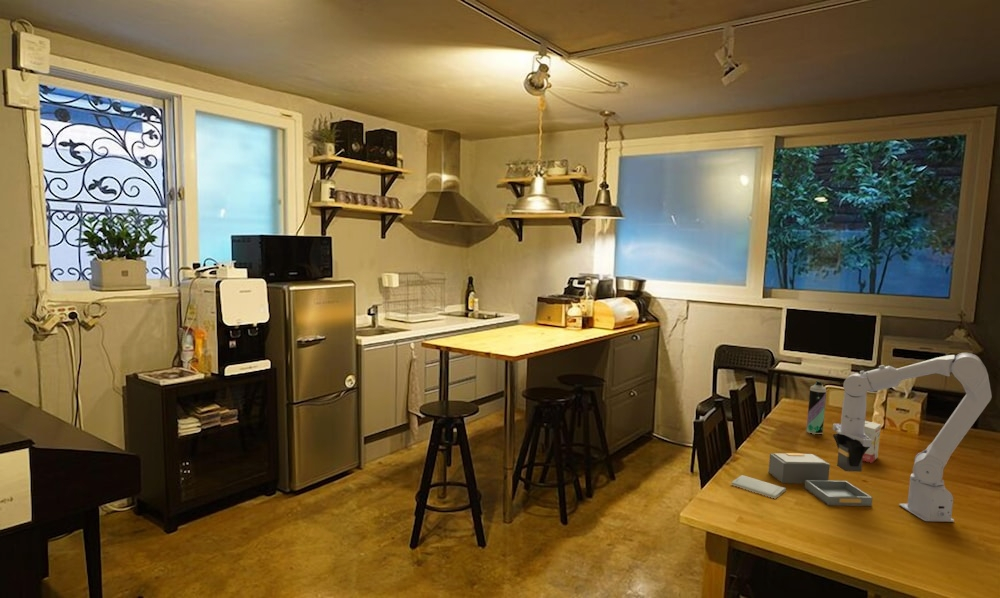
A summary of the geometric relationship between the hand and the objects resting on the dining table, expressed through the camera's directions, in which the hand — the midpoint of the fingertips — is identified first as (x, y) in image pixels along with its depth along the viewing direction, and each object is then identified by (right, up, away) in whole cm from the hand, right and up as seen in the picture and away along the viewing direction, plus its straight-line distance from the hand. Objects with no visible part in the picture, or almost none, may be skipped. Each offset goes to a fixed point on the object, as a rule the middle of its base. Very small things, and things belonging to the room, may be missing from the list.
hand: (849, 462), depth 164 cm
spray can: (+21, -5, +57) cm, 61 cm away
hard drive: (-25, -9, +2) cm, 26 cm away
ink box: (+24, -7, +30) cm, 39 cm away
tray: (-5, -9, -2) cm, 10 cm away
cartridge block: (0, -2, 0) cm, 2 cm away
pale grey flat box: (-9, -8, +11) cm, 16 cm away
